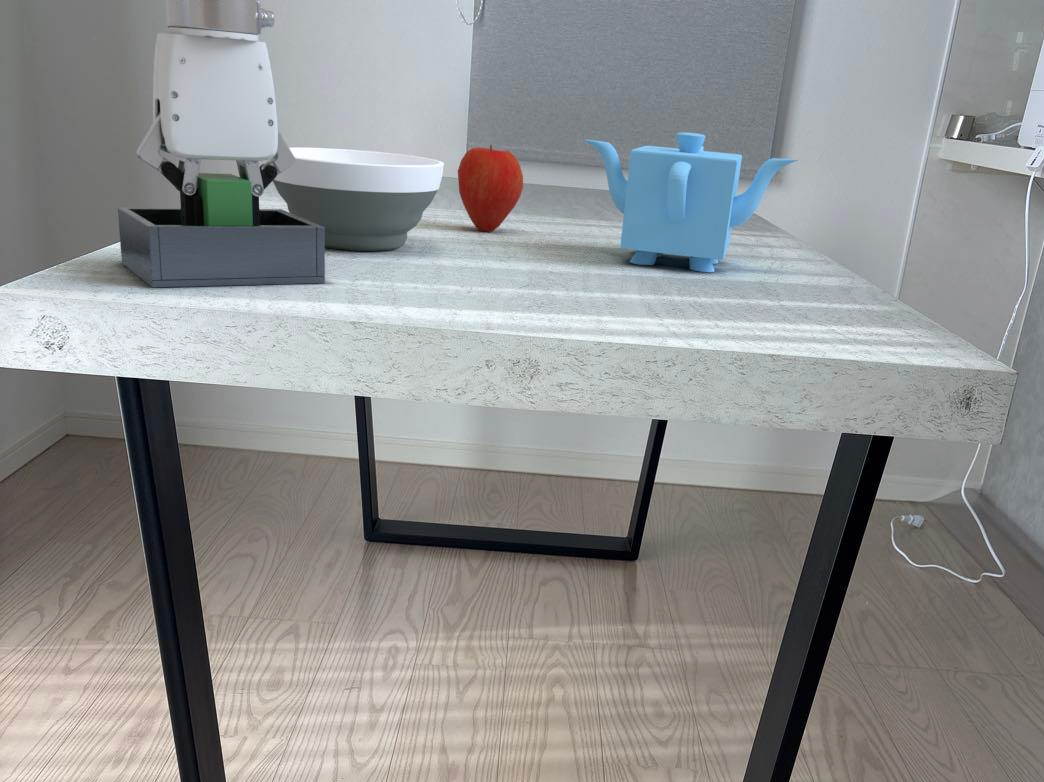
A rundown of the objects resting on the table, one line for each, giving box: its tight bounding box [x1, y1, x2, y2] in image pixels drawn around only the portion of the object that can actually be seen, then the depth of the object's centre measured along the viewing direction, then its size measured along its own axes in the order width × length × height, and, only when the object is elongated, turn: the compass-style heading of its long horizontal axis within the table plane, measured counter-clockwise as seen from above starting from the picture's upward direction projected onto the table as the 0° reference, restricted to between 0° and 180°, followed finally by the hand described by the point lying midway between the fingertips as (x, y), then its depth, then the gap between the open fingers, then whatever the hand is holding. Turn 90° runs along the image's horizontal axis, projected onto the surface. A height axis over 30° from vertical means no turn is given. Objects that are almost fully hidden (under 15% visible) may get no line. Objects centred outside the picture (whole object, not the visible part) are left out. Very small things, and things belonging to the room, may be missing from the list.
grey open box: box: [117, 206, 326, 289], centre depth 98 cm, size 16×12×5 cm
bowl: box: [266, 147, 445, 252], centre depth 119 cm, size 20×20×10 cm
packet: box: [197, 172, 253, 225], centre depth 97 cm, size 6×4×8 cm, turn 32°
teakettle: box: [584, 132, 799, 273], centre depth 126 cm, size 19×19×15 cm
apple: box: [457, 144, 524, 233], centre depth 138 cm, size 9×8×11 cm
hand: (221, 237), depth 97 cm, fingers closed on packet, 4 cm apart
